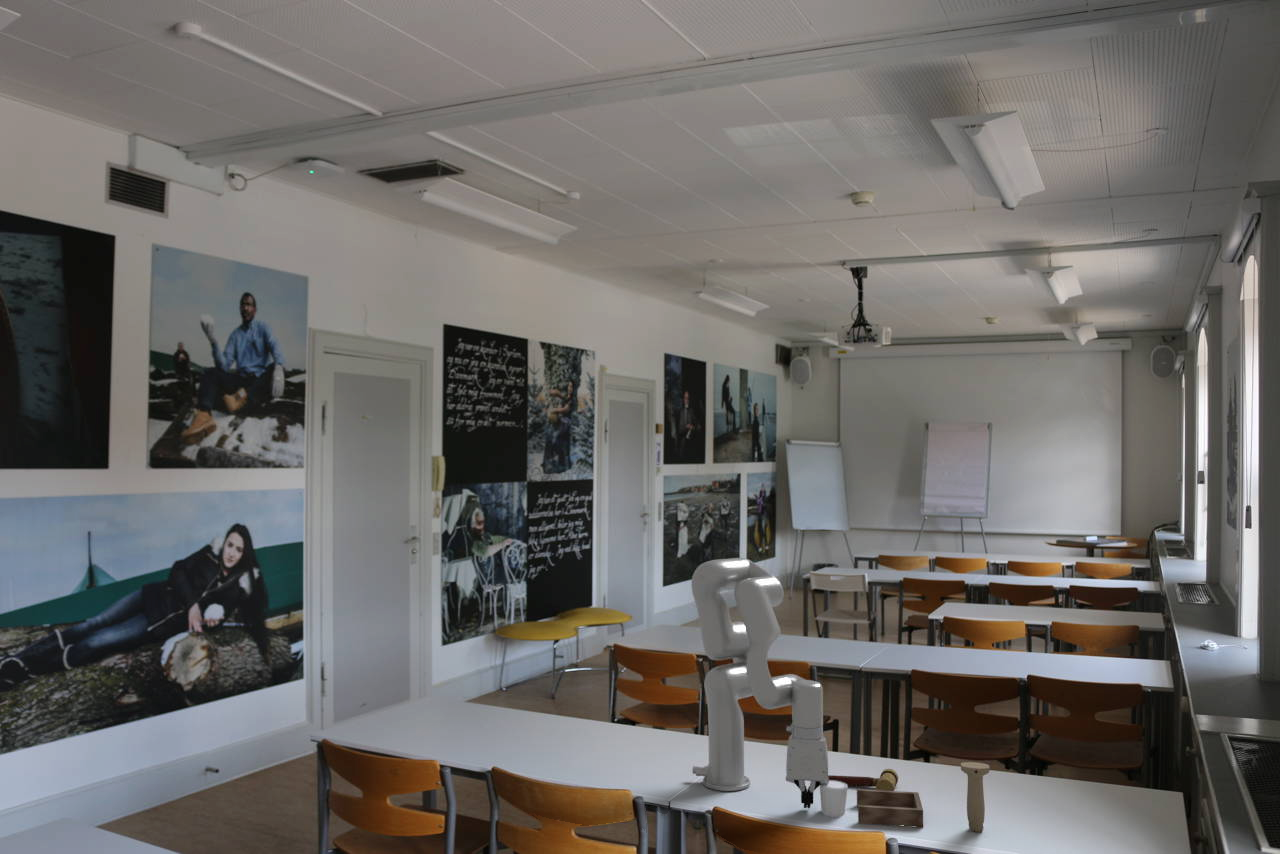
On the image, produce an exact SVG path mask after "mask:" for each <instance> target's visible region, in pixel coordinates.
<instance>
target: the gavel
mask: <svg viewBox="0 0 1280 854" xmlns="http://www.w3.org/2000/svg"><path fill="white" fill-rule="evenodd" d="M828 778H829V780H836V781H841V782H844V783H846V784H847V786H848V787H859V788H860V787H862V788H871V787H875V790H885V791H895V787H896V786H897V784H898V781H899V775H898V773H897V772H896V771H895V770H894V769H891V768H885V769H883V770H882V772H881V773H880V776H879V777H877V778H876V777H871V776H854V775H853V776H851V775H834V774H833V775H832V774H831V775H829V774H828Z"/></svg>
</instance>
